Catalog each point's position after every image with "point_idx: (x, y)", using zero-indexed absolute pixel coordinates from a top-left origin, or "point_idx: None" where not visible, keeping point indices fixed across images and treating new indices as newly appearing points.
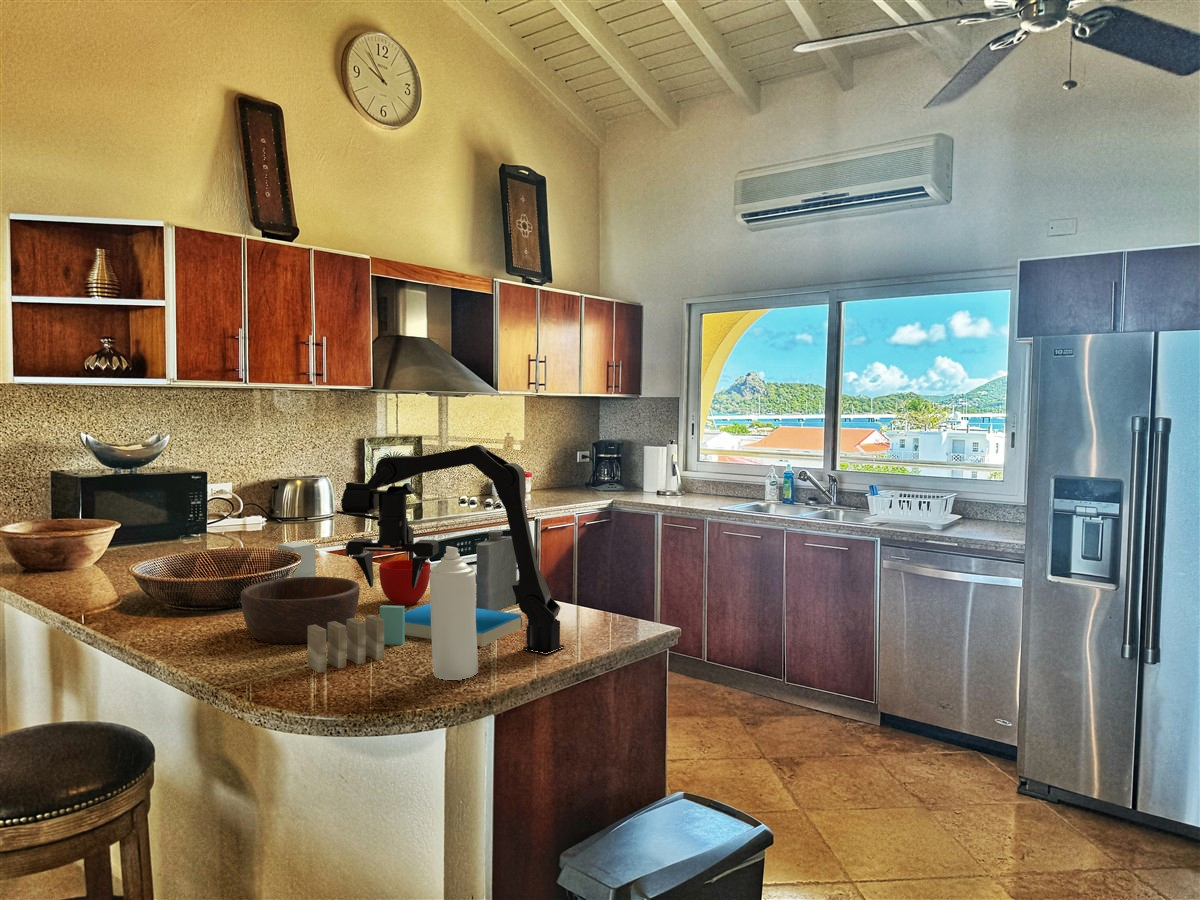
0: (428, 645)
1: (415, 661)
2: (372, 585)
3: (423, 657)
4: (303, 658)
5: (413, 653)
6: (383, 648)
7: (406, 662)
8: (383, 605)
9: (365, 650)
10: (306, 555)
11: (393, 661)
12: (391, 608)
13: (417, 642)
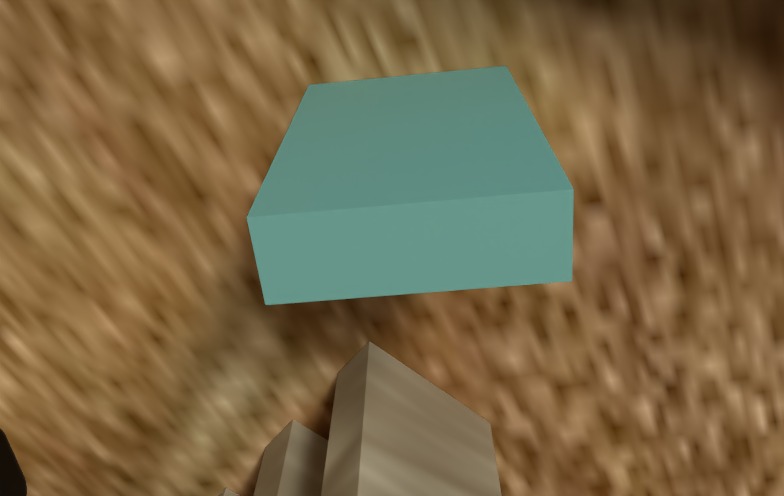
0: (728, 104)
1: (699, 435)
2: (6, 477)
3: (736, 365)
4: (28, 482)
5: (650, 305)
6: (495, 474)
7: (647, 456)
8: (270, 220)
9: (336, 390)
10: None
11: (564, 453)
12: (421, 285)
13: (615, 38)
